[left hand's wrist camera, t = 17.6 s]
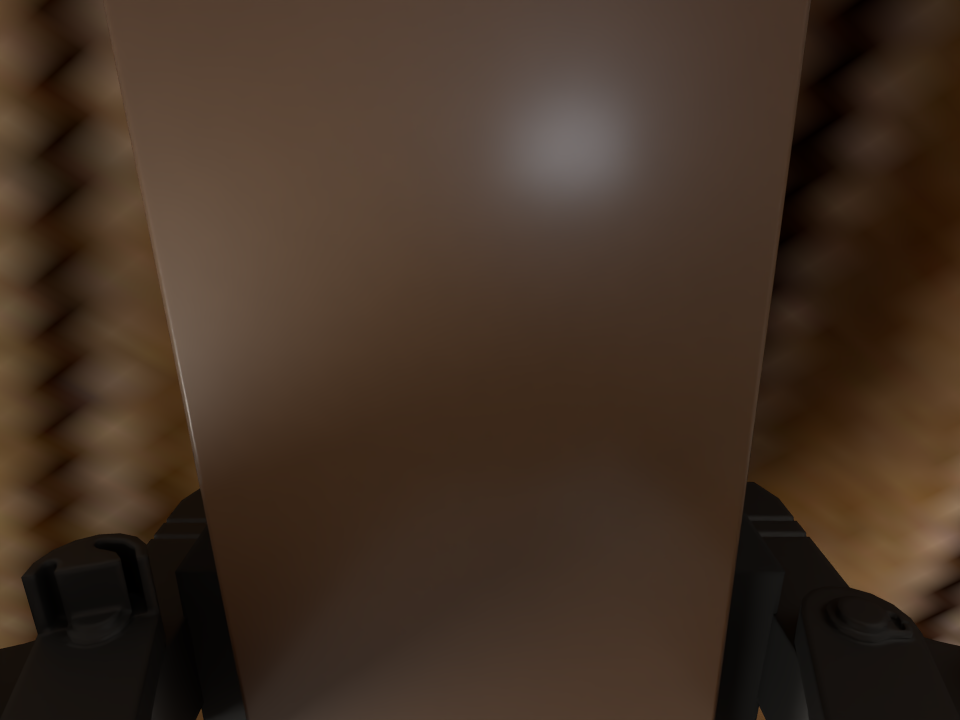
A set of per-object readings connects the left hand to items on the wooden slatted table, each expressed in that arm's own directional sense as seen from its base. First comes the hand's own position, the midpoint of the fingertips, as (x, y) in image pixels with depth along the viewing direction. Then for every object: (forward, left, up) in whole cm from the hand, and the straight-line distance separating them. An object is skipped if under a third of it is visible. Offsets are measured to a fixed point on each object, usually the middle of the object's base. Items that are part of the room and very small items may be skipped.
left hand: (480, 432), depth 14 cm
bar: (-8, -2, -2) cm, 8 cm away
